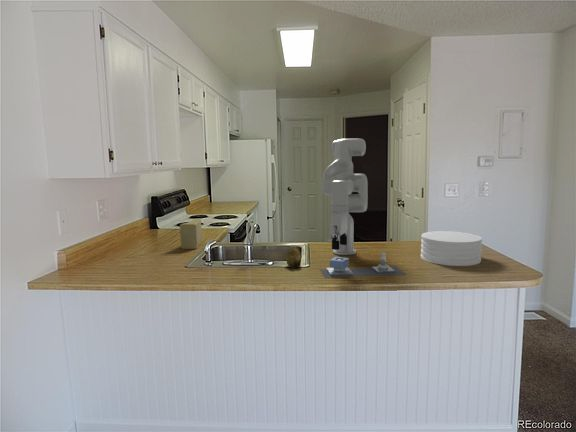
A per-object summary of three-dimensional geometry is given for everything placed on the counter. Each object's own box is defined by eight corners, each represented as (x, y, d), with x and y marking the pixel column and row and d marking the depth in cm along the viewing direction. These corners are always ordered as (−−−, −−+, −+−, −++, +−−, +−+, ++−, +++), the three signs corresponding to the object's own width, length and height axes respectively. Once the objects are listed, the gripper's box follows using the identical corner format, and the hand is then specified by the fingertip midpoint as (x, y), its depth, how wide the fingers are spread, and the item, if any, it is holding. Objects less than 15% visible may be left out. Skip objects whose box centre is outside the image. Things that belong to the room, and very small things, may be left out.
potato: (282, 269, 186) (282, 252, 184) (287, 262, 198) (287, 246, 197) (300, 270, 184) (300, 253, 183) (304, 262, 197) (303, 246, 196)
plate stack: (463, 269, 181) (464, 245, 179) (409, 258, 202) (410, 236, 200) (491, 259, 198) (492, 236, 197) (439, 249, 220) (439, 229, 218)
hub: (326, 269, 182) (326, 257, 182) (347, 268, 183) (347, 256, 182) (330, 276, 173) (330, 263, 172) (353, 275, 174) (353, 262, 173)
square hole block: (335, 264, 182) (335, 256, 182) (348, 265, 179) (348, 258, 178) (329, 267, 177) (329, 259, 176) (343, 269, 173) (343, 261, 173)
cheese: (193, 241, 252) (192, 217, 250) (208, 241, 251) (207, 217, 249) (180, 249, 231) (179, 223, 228) (196, 249, 230) (195, 223, 227)
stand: (371, 268, 183) (372, 251, 182) (388, 267, 184) (389, 250, 183) (377, 273, 175) (377, 255, 174) (394, 272, 176) (395, 254, 175)
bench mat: (319, 270, 183) (319, 269, 183) (396, 267, 186) (396, 266, 186) (324, 278, 170) (324, 278, 170) (406, 275, 173) (406, 274, 173)
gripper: (338, 205, 183) (338, 242, 186) (323, 211, 168) (324, 250, 171) (354, 206, 180) (354, 243, 182) (340, 211, 164) (340, 252, 167)
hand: (339, 247), depth 176 cm, fingers open, 9 cm apart
